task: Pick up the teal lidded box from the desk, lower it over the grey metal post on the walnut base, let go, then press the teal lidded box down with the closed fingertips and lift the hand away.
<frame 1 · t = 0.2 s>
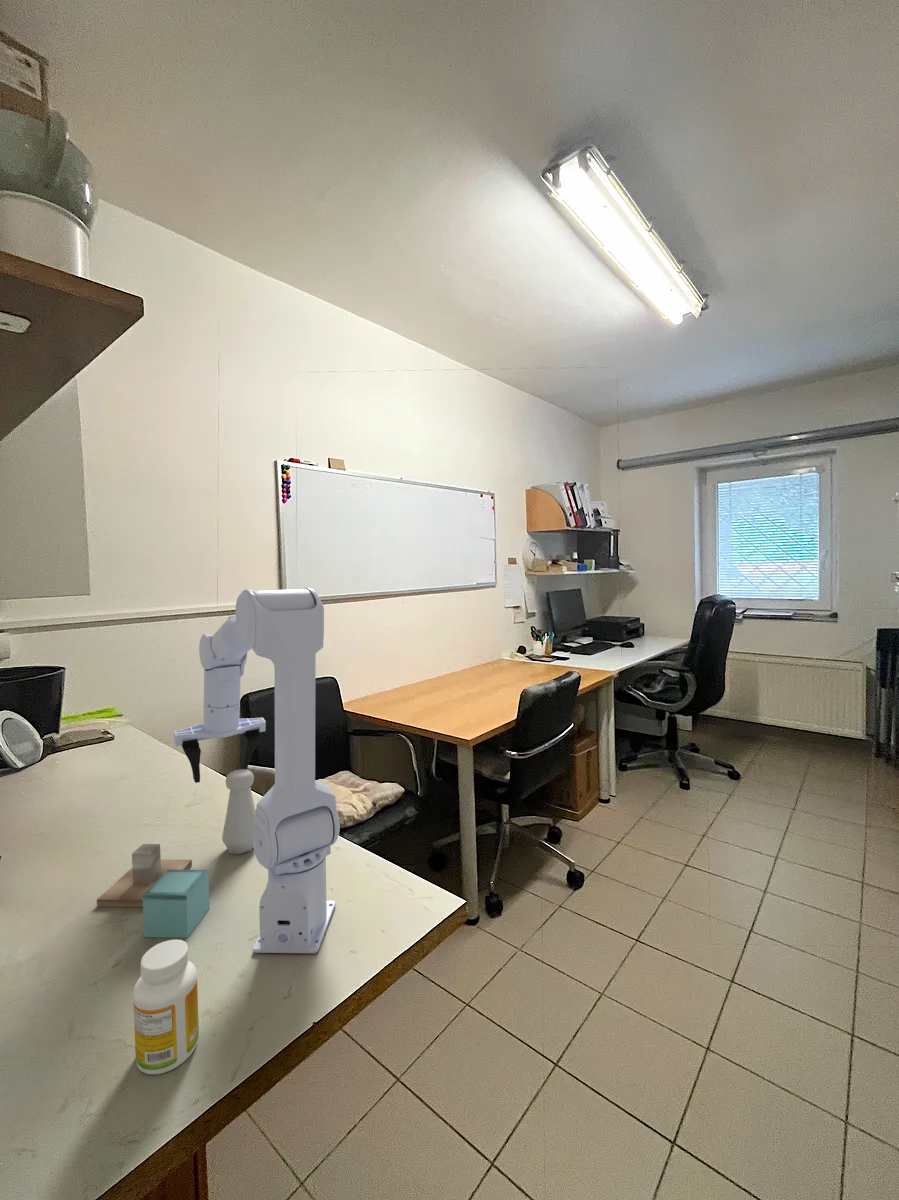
hand: (220, 774, 91), 10 cm above the table, tool pointing down, fingers open, 7 cm apart
salt shaker: (241, 849, 86), on the table
post base: (147, 884, 76), on the table
teal lidded box: (178, 922, 68), on the table
supplement bottle: (168, 1052, 50), on the table
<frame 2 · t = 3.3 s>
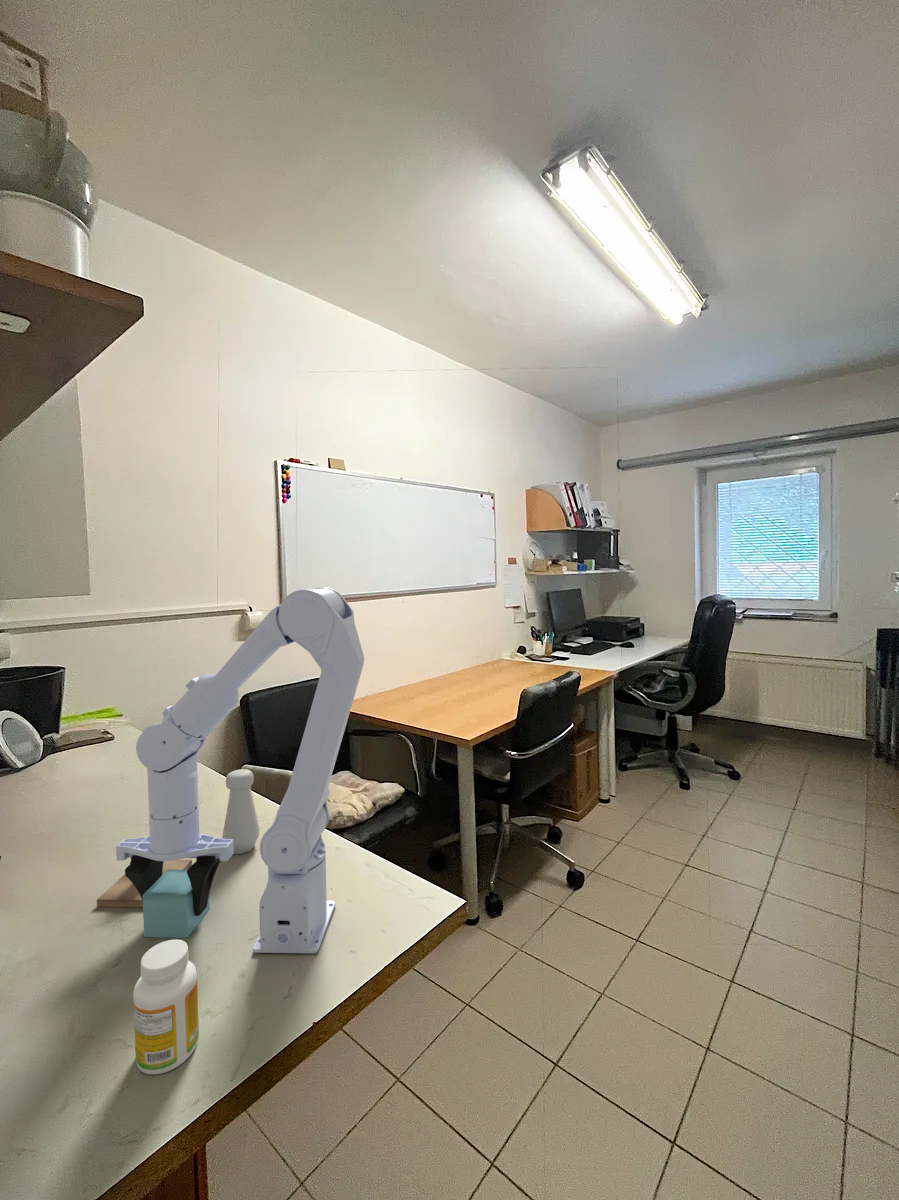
hand: (177, 910, 68), 2 cm above the table, tool pointing down, fingers closed on teal lidded box, 6 cm apart
teal lidded box: (178, 922, 68), on the table, touching gripper
everything else where it was.
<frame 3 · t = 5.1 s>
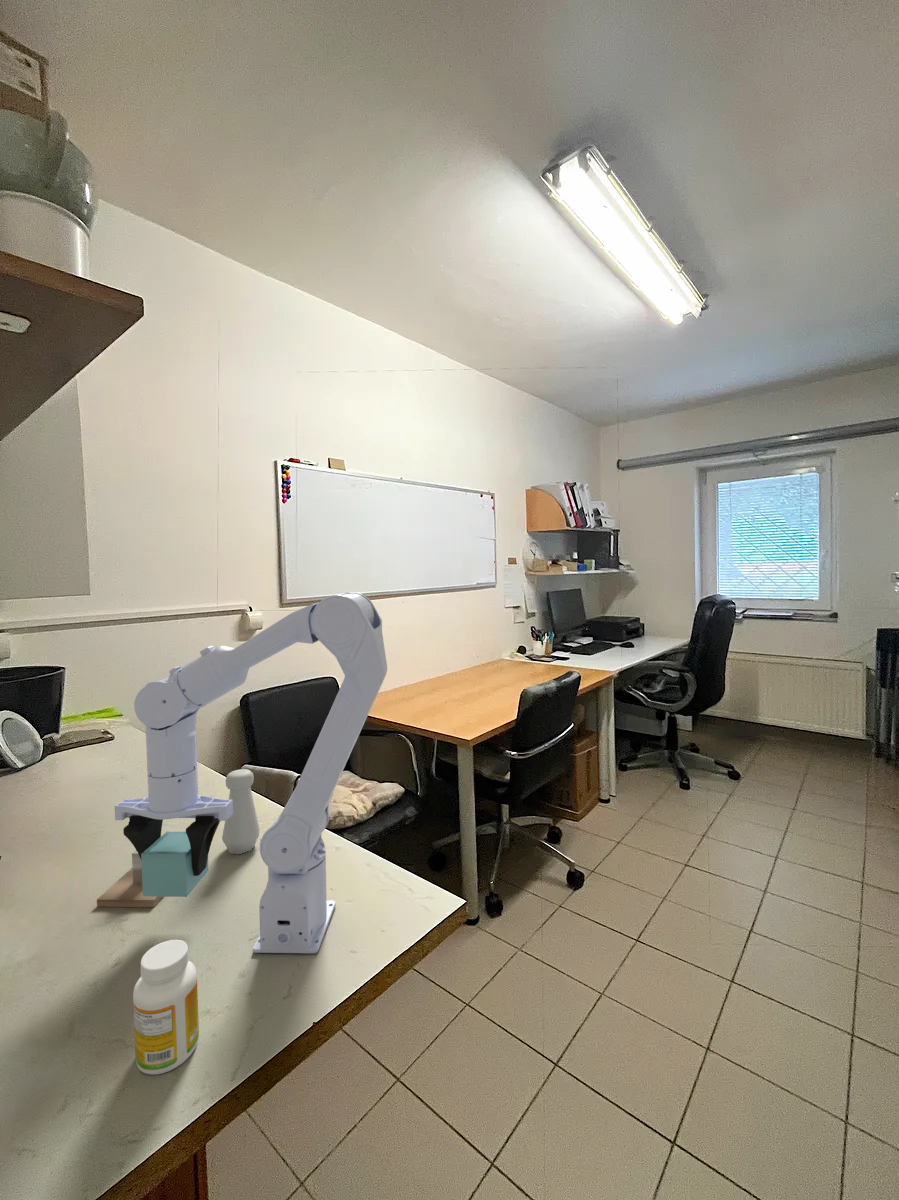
hand: (176, 871, 68), 7 cm above the table, tool pointing down, fingers closed on teal lidded box, 6 cm apart
teal lidded box: (177, 883, 68), point 5 cm above the table, touching gripper
everything else where it was.
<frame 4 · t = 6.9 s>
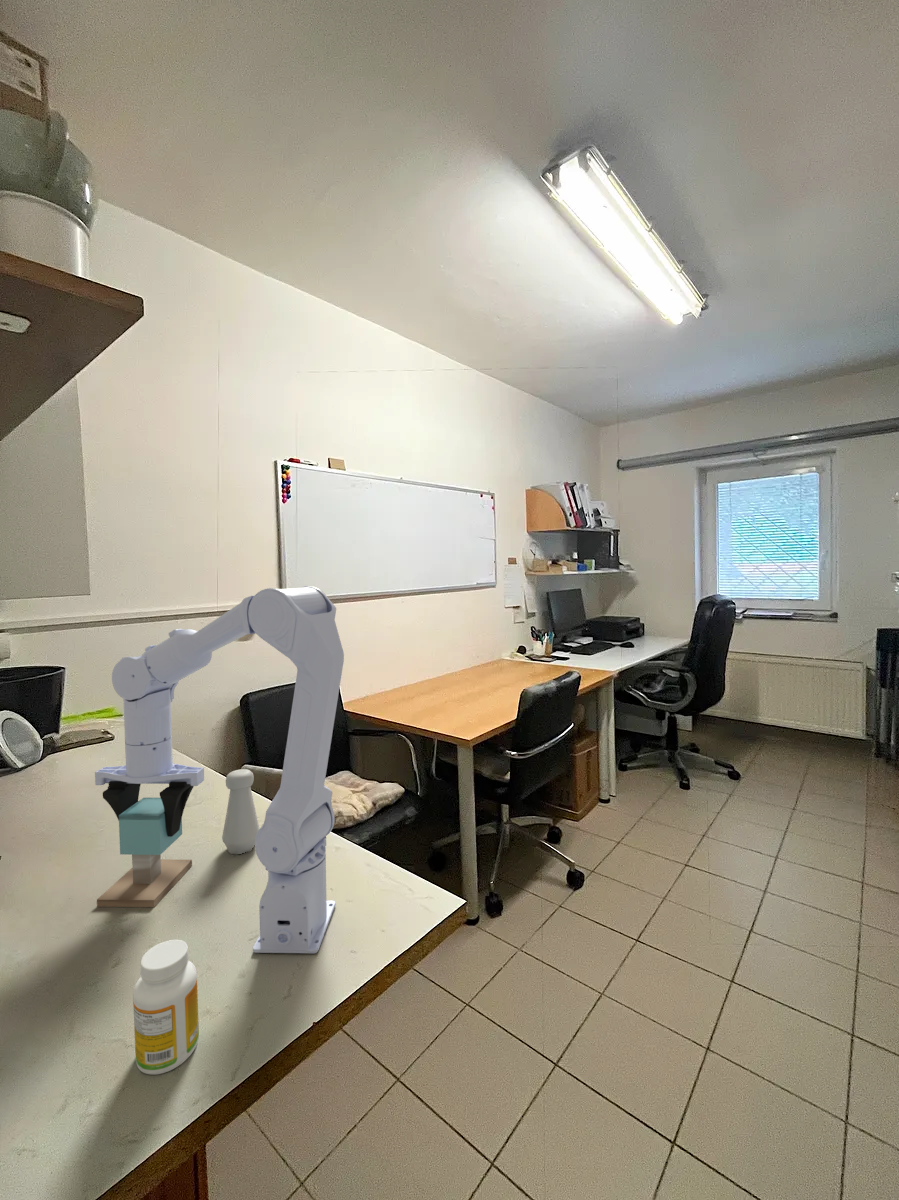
hand: (152, 832, 74), 9 cm above the table, tool pointing down, fingers closed on teal lidded box, 6 cm apart
teal lidded box: (152, 843, 74), point 7 cm above the table, touching gripper
everything else where it was.
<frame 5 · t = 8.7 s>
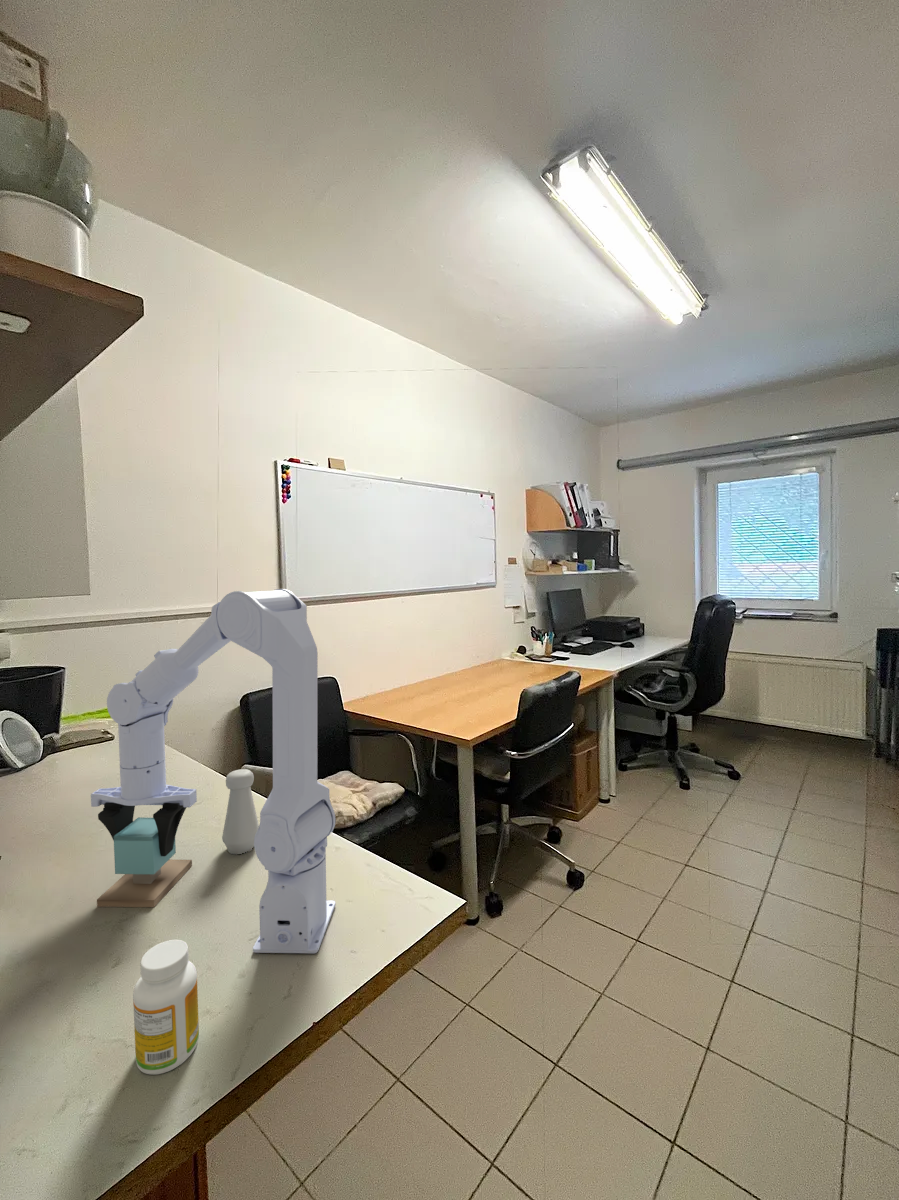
hand: (146, 852, 76), 5 cm above the table, tool pointing down, fingers closed on teal lidded box, 6 cm apart
teal lidded box: (146, 863, 76), point 3 cm above the table, touching gripper
everything else where it was.
when the fingers open (3 cm above the table, at t = 10.4 s): teal lidded box stays where it is, resting on post base.
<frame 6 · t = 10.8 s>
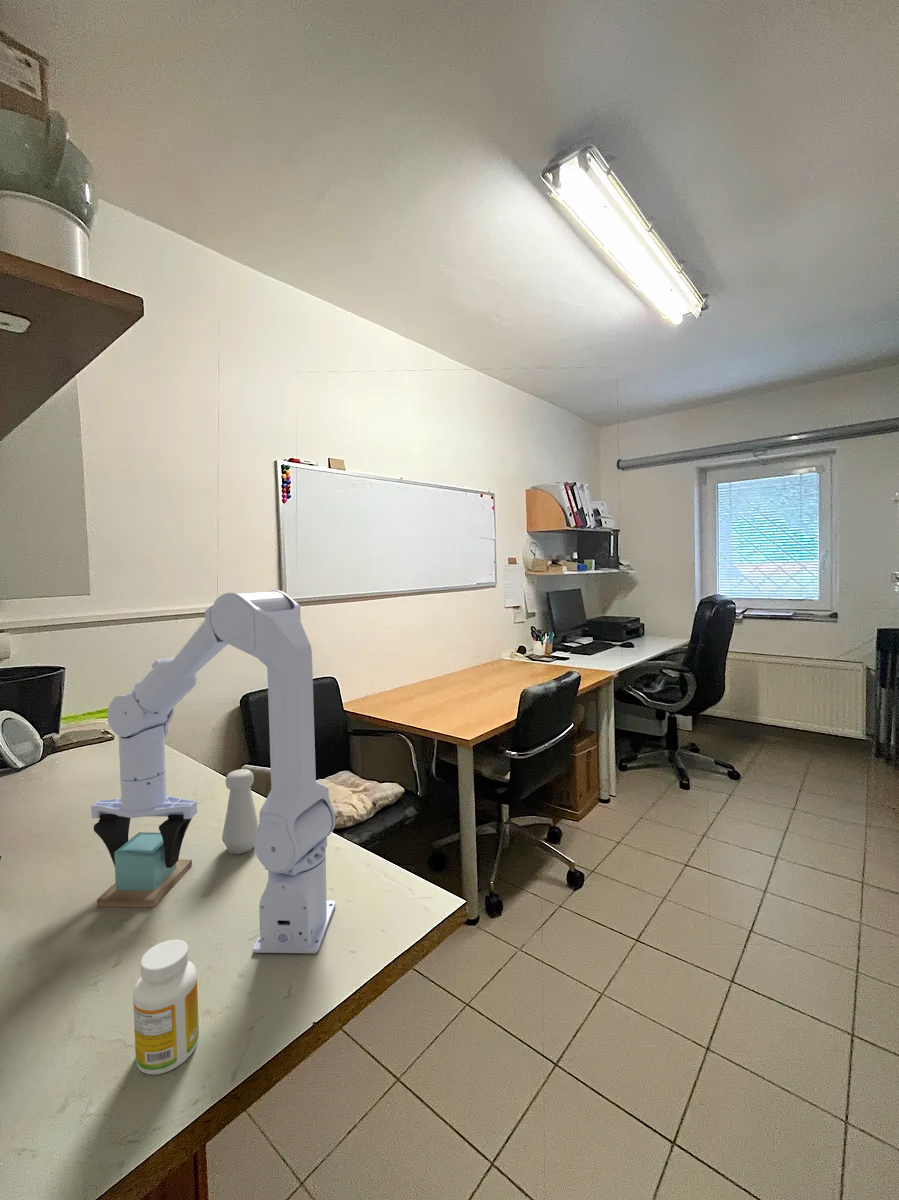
hand: (146, 863, 76), 3 cm above the table, tool pointing down, fingers open, 7 cm apart
teal lidded box: (147, 878, 76), point 1 cm above the table, touching post base
everything else where it was.
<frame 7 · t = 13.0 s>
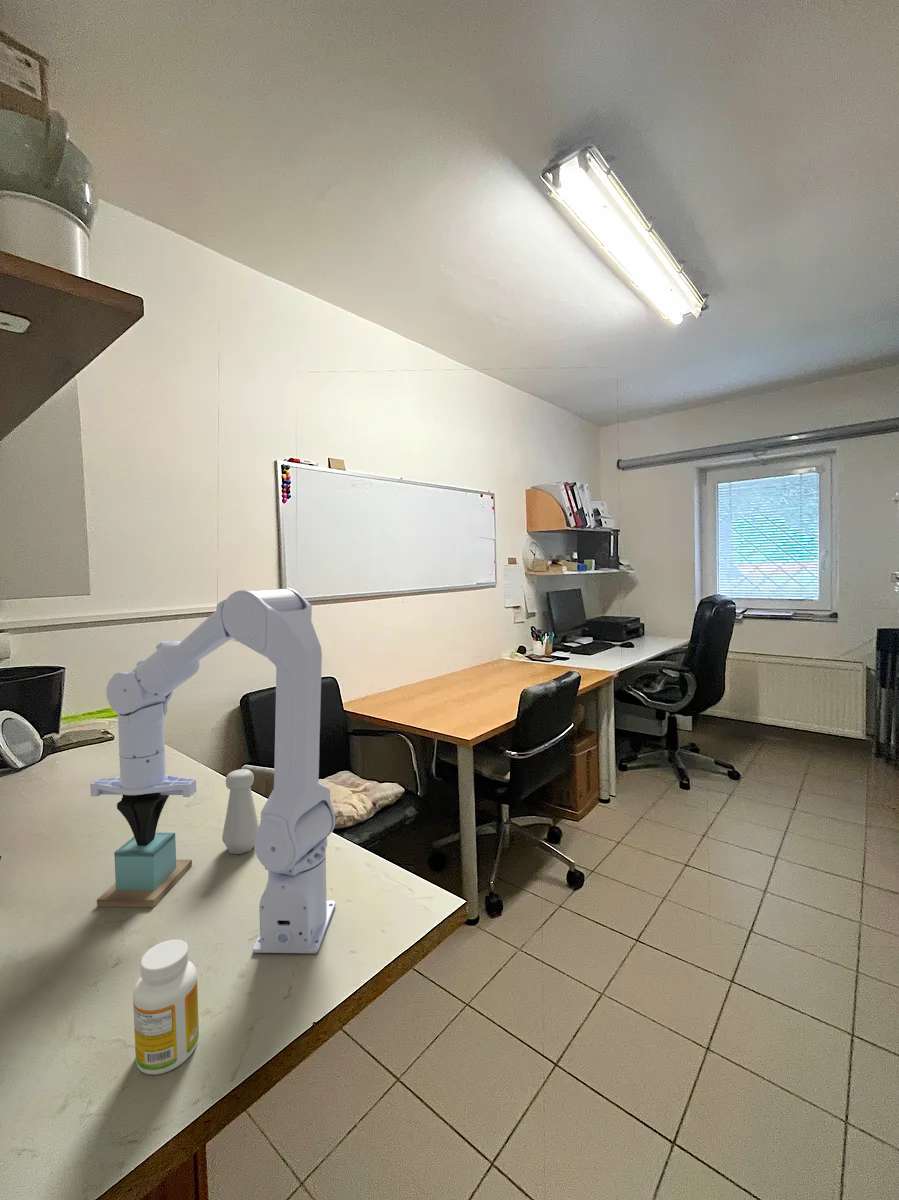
hand: (145, 842, 76), 6 cm above the table, tool pointing down, fingers closed, pressing on teal lidded box
teal lidded box: (147, 878, 76), point 1 cm above the table, touching gripper, post base
everything else where it was.
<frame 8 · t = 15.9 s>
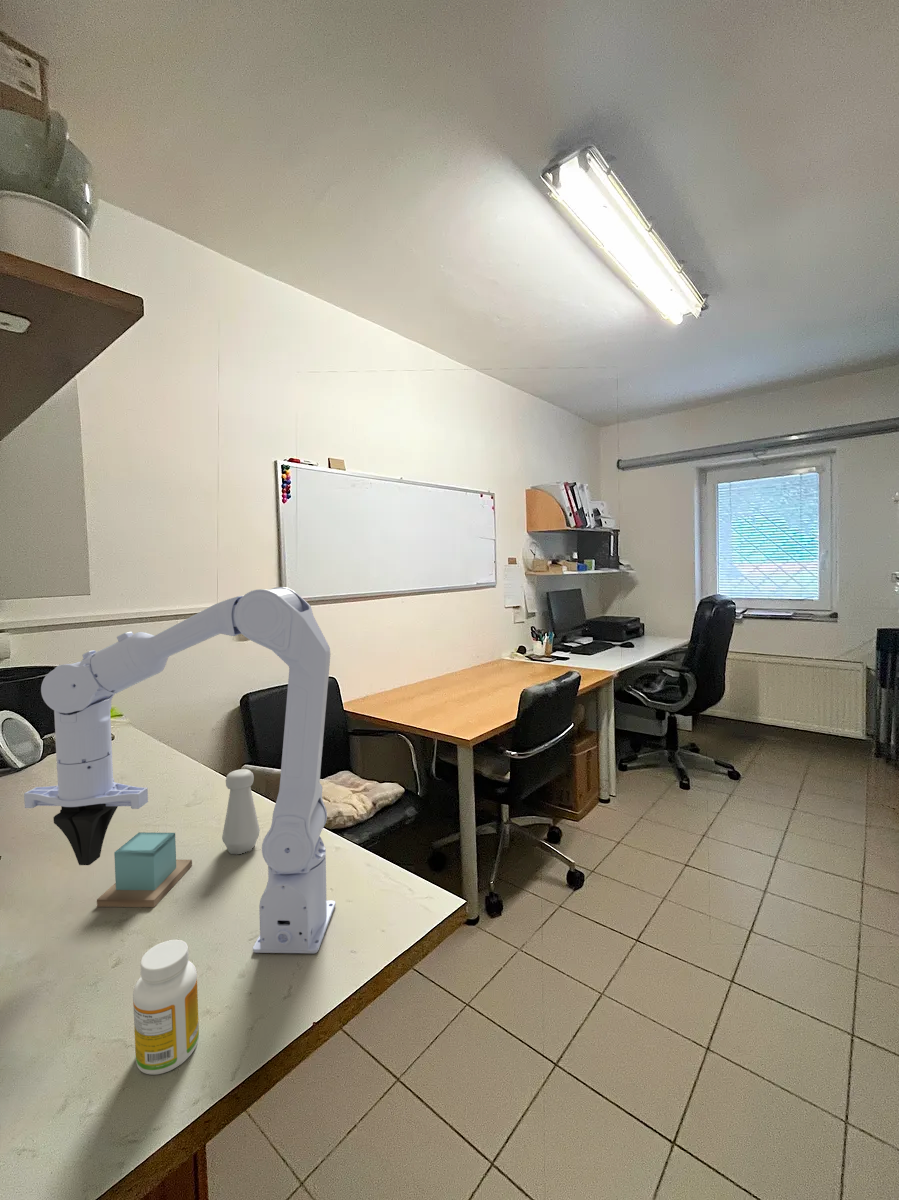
hand: (89, 860, 66), 9 cm above the table, tool pointing down, fingers closed
teal lidded box: (147, 878, 76), point 1 cm above the table, touching post base
everything else where it was.
at the end: teal lidded box 0.0 cm from the post base (horizontally); teal lidded box point 1.0 cm above the table; teal lidded box tilted 0° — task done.
